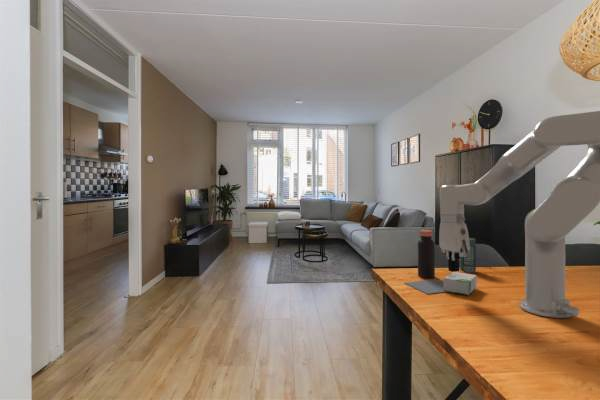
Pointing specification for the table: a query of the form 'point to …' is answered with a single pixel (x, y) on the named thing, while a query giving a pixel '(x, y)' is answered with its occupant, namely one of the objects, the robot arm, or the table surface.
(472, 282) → the ink box
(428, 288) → the mat
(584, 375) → the table surface
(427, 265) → the bottle
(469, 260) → the can
